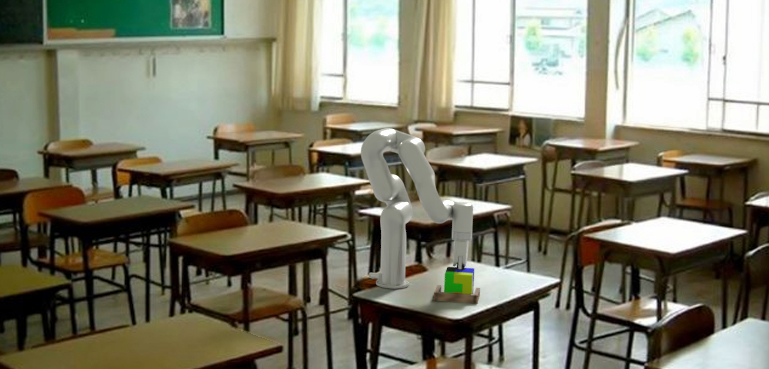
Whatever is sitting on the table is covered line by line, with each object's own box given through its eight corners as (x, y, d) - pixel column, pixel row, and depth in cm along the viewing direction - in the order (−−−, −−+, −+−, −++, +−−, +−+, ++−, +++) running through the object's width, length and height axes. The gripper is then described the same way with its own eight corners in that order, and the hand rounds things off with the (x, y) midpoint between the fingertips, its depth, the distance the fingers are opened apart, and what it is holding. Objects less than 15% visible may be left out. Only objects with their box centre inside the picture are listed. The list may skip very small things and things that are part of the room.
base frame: (433, 300, 389) (433, 292, 389) (437, 292, 400) (437, 285, 400) (477, 303, 387) (477, 295, 386) (479, 295, 398) (480, 287, 397)
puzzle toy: (473, 294, 399) (474, 268, 397) (471, 302, 389) (472, 275, 387) (446, 292, 400) (447, 266, 398) (443, 300, 390) (444, 273, 388)
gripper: (453, 231, 406) (451, 277, 409) (450, 239, 392) (448, 287, 395) (473, 232, 405) (471, 278, 408) (470, 240, 391) (468, 288, 394)
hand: (460, 283), depth 402 cm, fingers closed
